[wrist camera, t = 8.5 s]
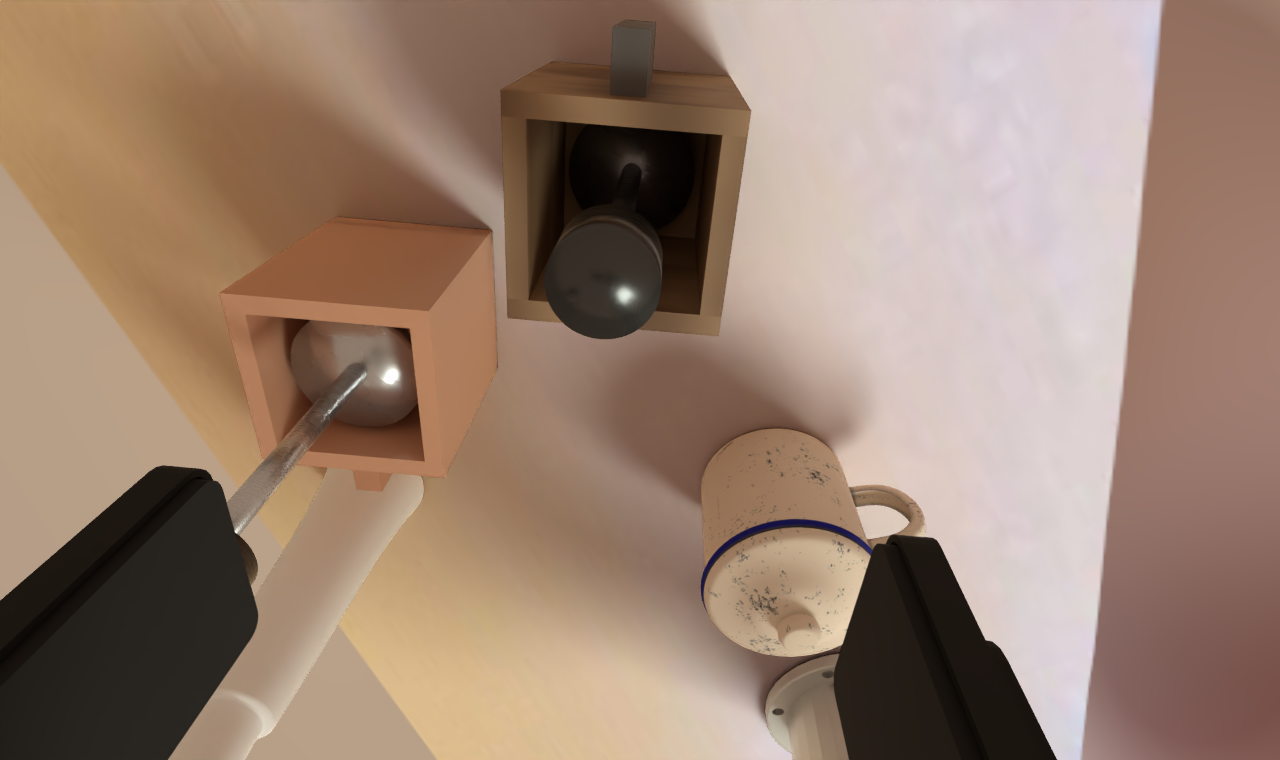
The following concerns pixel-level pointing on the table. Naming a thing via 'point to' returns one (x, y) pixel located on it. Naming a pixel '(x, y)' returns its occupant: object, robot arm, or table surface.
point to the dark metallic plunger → (617, 227)
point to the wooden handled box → (628, 97)
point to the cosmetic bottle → (300, 610)
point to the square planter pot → (383, 296)
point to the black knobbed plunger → (332, 401)
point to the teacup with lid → (787, 542)
